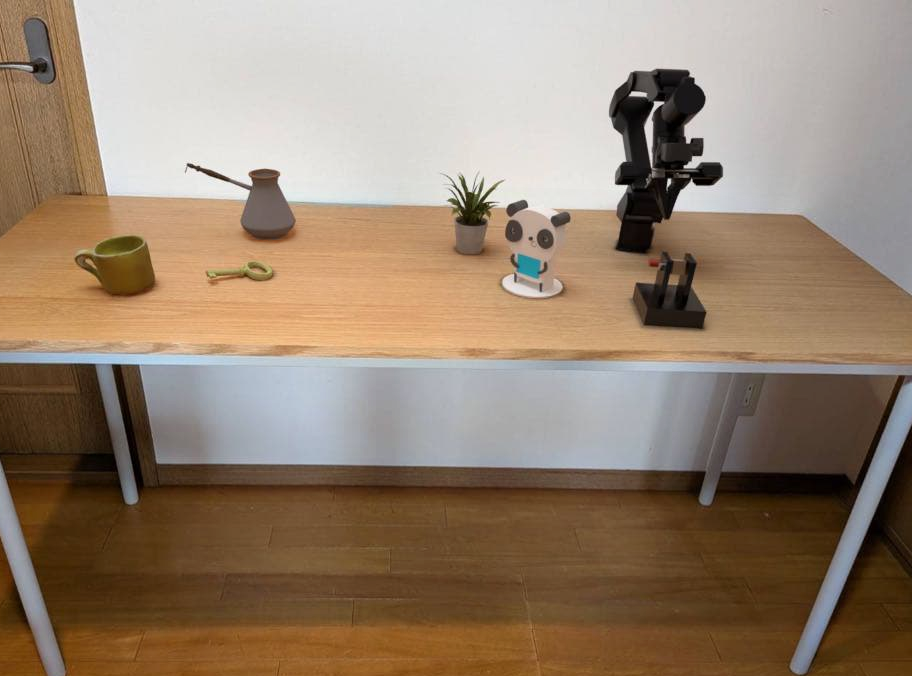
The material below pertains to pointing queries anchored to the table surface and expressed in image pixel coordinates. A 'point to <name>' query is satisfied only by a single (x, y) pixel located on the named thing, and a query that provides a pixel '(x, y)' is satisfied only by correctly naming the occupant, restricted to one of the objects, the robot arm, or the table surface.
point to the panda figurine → (534, 249)
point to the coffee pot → (261, 204)
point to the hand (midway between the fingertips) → (667, 219)
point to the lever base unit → (670, 298)
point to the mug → (120, 264)
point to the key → (243, 271)
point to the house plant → (471, 216)
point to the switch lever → (677, 266)
